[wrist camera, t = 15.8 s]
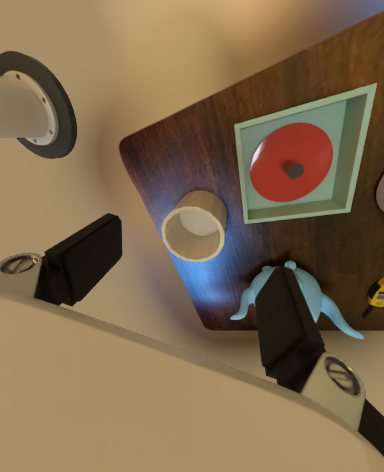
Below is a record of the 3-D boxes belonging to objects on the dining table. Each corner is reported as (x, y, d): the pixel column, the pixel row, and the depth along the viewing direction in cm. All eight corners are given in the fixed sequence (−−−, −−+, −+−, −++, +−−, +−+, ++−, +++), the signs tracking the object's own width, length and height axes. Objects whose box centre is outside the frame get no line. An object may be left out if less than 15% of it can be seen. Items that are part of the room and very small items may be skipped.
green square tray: (243, 213, 39) (244, 224, 34) (234, 126, 31) (234, 124, 26) (334, 201, 34) (350, 212, 29) (351, 92, 26) (377, 82, 21)
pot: (167, 214, 44) (150, 234, 35) (200, 178, 37) (189, 192, 29) (201, 245, 46) (193, 271, 38) (238, 217, 40) (238, 240, 31)
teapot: (331, 285, 44) (366, 340, 32) (263, 309, 53) (271, 357, 42) (296, 243, 40) (322, 288, 28) (231, 276, 50) (229, 320, 38)
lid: (235, 166, 34) (235, 172, 29) (301, 102, 27) (314, 95, 22) (276, 213, 37) (282, 224, 32) (346, 164, 30) (366, 170, 25)
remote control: (412, 283, 37) (377, 324, 44) (404, 276, 38) (372, 317, 46) (385, 280, 38) (355, 320, 45) (379, 274, 39) (351, 314, 47)
